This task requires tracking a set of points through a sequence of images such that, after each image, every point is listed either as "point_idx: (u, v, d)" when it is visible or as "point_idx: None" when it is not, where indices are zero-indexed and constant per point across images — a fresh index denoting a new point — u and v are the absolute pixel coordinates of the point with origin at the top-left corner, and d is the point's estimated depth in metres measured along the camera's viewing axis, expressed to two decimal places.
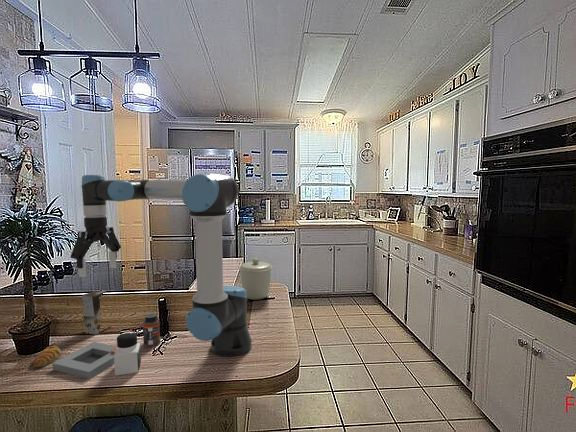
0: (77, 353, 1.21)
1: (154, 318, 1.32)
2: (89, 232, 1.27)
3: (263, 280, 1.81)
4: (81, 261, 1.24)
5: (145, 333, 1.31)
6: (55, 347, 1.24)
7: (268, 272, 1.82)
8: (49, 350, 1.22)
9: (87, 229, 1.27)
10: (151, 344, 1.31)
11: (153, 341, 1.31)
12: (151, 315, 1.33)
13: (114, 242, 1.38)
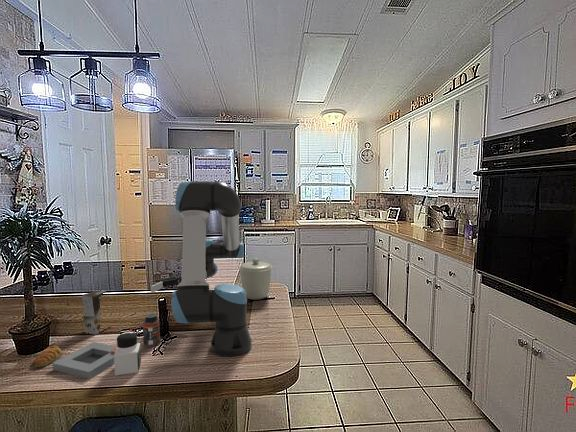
0: (77, 353, 1.21)
1: (154, 318, 1.32)
2: None
3: (263, 280, 1.81)
4: (159, 283, 1.48)
5: (145, 333, 1.31)
6: (56, 347, 1.24)
7: (268, 272, 1.82)
8: (50, 350, 1.22)
9: None
10: (151, 344, 1.31)
11: (153, 341, 1.31)
12: (151, 315, 1.33)
13: None
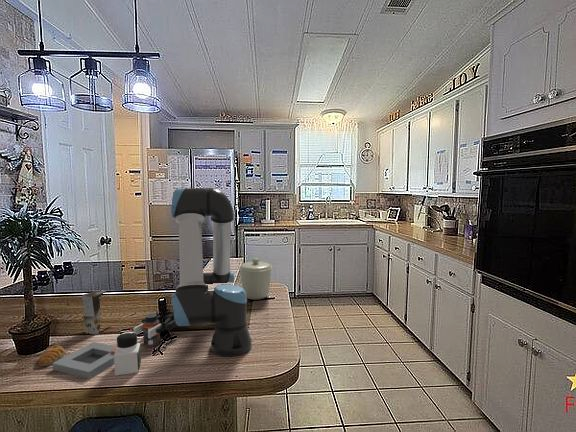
0: (77, 353, 1.21)
1: (154, 318, 1.32)
2: None
3: (263, 280, 1.81)
4: None
5: (145, 333, 1.31)
6: (59, 346, 1.25)
7: (268, 272, 1.82)
8: (53, 349, 1.22)
9: None
10: (151, 344, 1.31)
11: (153, 341, 1.31)
12: (151, 315, 1.33)
13: None
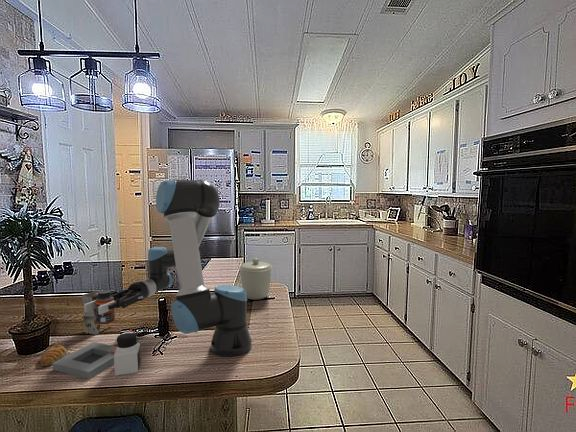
0: (77, 353, 1.21)
1: (107, 294, 1.24)
2: None
3: (263, 280, 1.81)
4: None
5: (97, 310, 1.23)
6: (60, 346, 1.25)
7: (268, 272, 1.82)
8: (55, 349, 1.23)
9: None
10: (103, 321, 1.24)
11: (106, 319, 1.24)
12: (104, 291, 1.25)
13: None
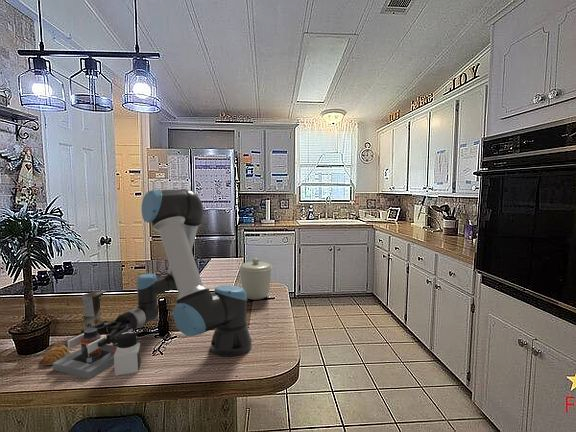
0: (77, 353, 1.21)
1: (94, 333, 1.18)
2: None
3: (263, 281, 1.81)
4: None
5: (83, 350, 1.17)
6: (62, 346, 1.25)
7: (268, 272, 1.82)
8: (57, 349, 1.23)
9: None
10: (90, 362, 1.17)
11: (92, 359, 1.18)
12: (91, 330, 1.19)
13: None
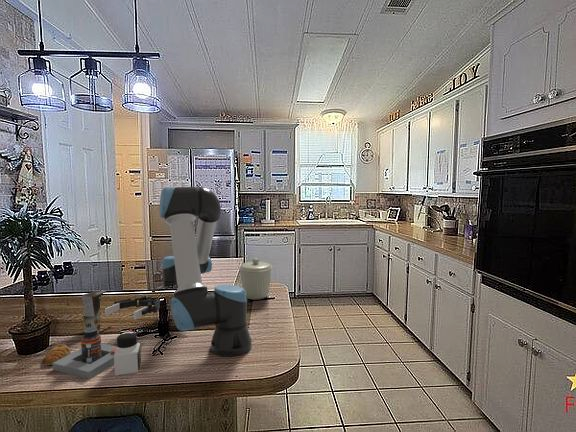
0: (77, 353, 1.21)
1: (93, 333, 1.18)
2: None
3: (263, 280, 1.81)
4: None
5: (83, 350, 1.17)
6: (64, 345, 1.26)
7: (268, 272, 1.82)
8: (59, 348, 1.23)
9: None
10: (90, 362, 1.17)
11: (92, 359, 1.18)
12: (91, 330, 1.19)
13: None
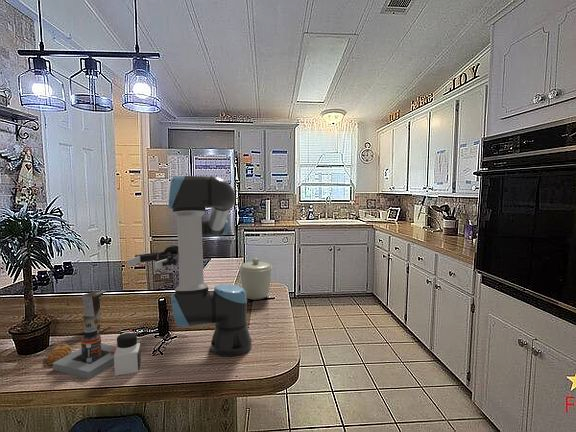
0: (77, 353, 1.21)
1: (93, 333, 1.18)
2: None
3: (263, 280, 1.81)
4: None
5: (83, 350, 1.17)
6: (65, 345, 1.26)
7: (268, 272, 1.82)
8: (61, 348, 1.23)
9: None
10: (90, 362, 1.17)
11: (92, 359, 1.18)
12: (91, 330, 1.19)
13: None
